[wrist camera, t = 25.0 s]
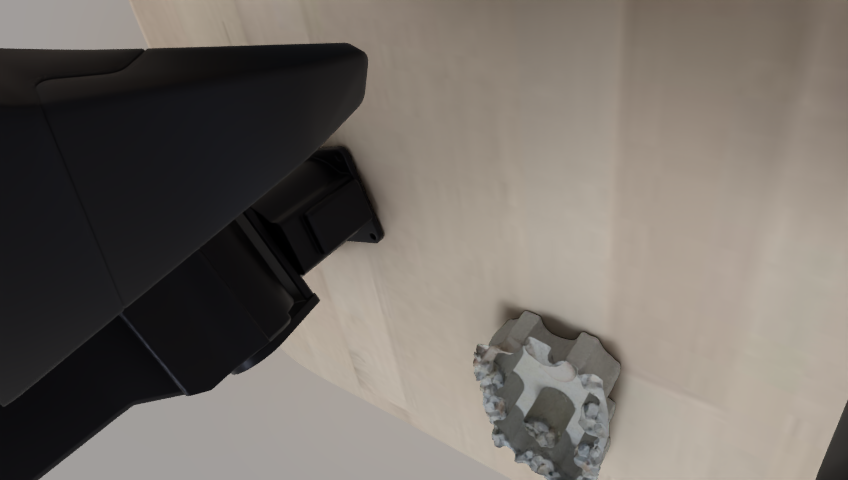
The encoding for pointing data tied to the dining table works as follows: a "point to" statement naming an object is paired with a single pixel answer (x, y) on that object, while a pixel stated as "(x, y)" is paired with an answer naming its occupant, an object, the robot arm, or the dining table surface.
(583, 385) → the egg carton
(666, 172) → the dining table surface
